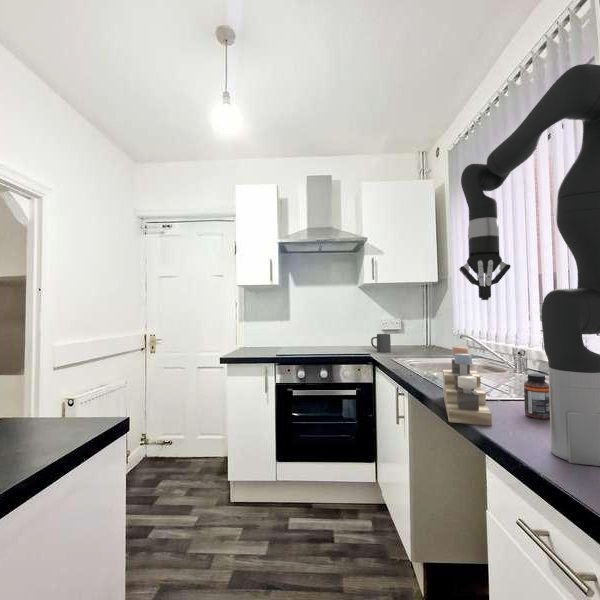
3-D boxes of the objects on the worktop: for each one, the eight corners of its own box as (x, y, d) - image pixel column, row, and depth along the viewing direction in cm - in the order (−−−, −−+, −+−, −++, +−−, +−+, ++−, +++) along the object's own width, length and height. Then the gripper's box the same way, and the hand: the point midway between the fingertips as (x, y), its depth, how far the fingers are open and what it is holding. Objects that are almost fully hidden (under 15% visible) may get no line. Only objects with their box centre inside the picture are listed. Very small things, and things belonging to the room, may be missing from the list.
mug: (387, 351, 252) (386, 333, 253) (393, 352, 243) (392, 334, 244) (368, 351, 250) (368, 334, 250) (374, 353, 241) (373, 335, 241)
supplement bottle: (526, 412, 103) (525, 371, 103) (551, 415, 99) (550, 374, 99) (523, 417, 98) (521, 374, 98) (549, 421, 94) (548, 377, 95)
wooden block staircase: (491, 425, 91) (490, 373, 92) (448, 422, 95) (447, 371, 95) (476, 399, 118) (475, 358, 118) (443, 396, 121) (442, 357, 121)
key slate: (473, 379, 103) (472, 355, 103) (455, 378, 105) (455, 355, 105) (471, 376, 107) (470, 353, 108) (454, 375, 109) (454, 353, 109)
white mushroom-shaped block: (478, 405, 94) (477, 379, 95) (459, 403, 96) (458, 378, 96) (475, 400, 99) (475, 376, 99) (457, 399, 100) (456, 375, 100)
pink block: (469, 370, 112) (468, 348, 112) (453, 369, 114) (452, 348, 114) (467, 367, 116) (467, 346, 117) (452, 367, 118) (451, 346, 118)
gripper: (458, 236, 98) (460, 300, 98) (514, 232, 94) (515, 299, 94) (455, 241, 105) (457, 300, 105) (507, 237, 101) (509, 299, 101)
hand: (485, 299), depth 99 cm, fingers closed
